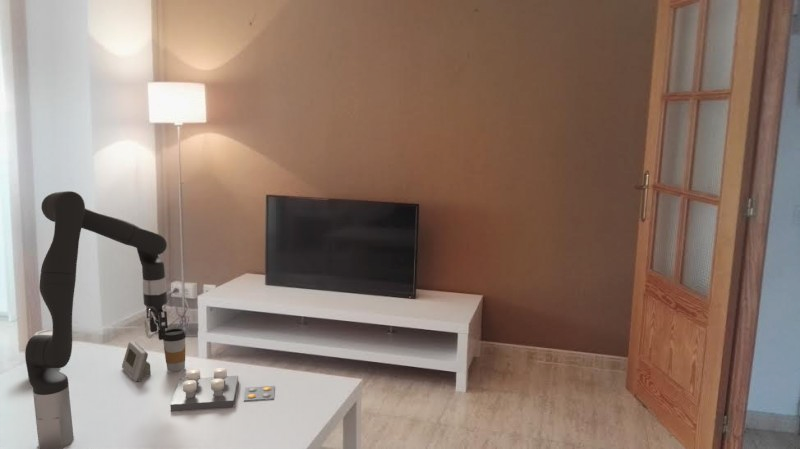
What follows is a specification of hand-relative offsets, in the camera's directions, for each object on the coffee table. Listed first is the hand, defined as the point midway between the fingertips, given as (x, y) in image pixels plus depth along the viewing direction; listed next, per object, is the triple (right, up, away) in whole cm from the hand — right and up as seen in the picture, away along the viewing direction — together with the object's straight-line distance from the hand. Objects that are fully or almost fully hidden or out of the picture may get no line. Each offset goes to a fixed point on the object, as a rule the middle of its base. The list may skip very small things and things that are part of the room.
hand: (158, 335), depth 224 cm
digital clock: (-15, -18, +18) cm, 29 cm away
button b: (+22, -20, -4) cm, 30 cm away
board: (+17, -21, 0) cm, 27 cm away
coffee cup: (-1, -17, +22) cm, 28 cm away
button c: (+11, -18, +3) cm, 22 cm away
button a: (+13, -20, -5) cm, 24 cm away
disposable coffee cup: (-48, -17, +21) cm, 55 cm away
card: (+35, -21, +2) cm, 40 cm away
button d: (+20, -18, +5) cm, 28 cm away
